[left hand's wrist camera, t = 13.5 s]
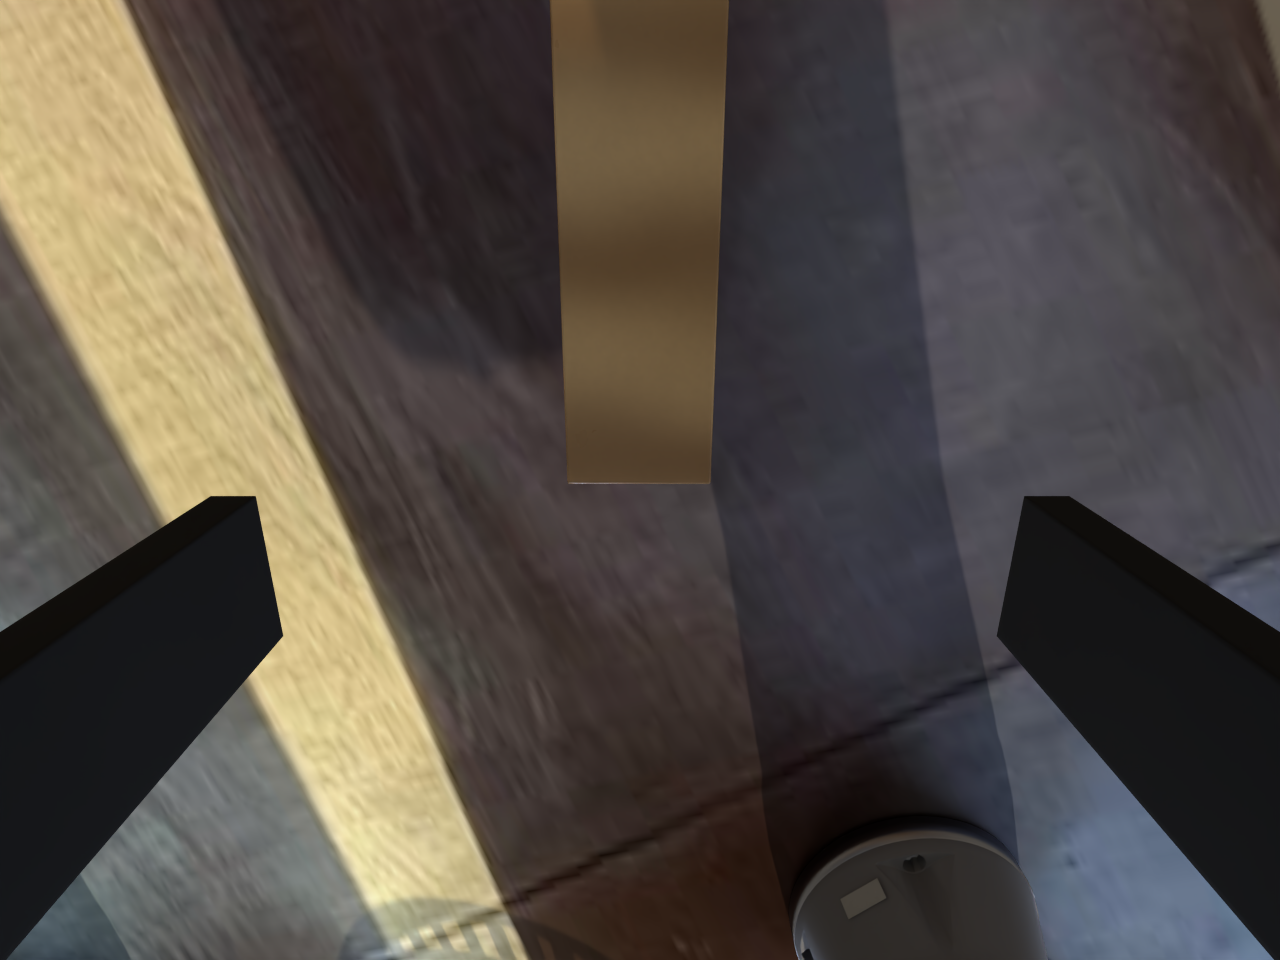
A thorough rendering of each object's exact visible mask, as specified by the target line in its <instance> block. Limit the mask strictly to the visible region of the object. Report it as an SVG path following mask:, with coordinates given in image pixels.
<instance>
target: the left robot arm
mask: <svg viewBox="0 0 1280 960" xmlns="http://www.w3.org/2000/svg"><path fill="white" fill-rule="evenodd" d="M282 637H283V633H282V627H281V622H280V617H279V612H278V607H277V602H276V597H275V592H274V587H273V582H272V577H271V572H270V567H269V561H268V556H267V551H266V546H265V541H264V536H263V531H262V526H261V521H260V516H259V511H258V506H257V501H256V496H210V497H209V498H207V499H206V500H204V501H203V502H201V503H200V504H198V505H196V506H195V507H193V508H192V509H190V510H189V511H187V512H186V513H184V514H183V515H181V516H179V517H178V518H176V519H175V520H173V521H172V522H170V523H169V524H167V525H165V526H164V527H162V528H161V529H159V530H158V531H156V532H155V533H153V534H152V535H150V536H148V537H147V538H145V539H144V540H142V541H141V542H139V543H138V544H136V545H134V546H133V547H131V548H130V549H128V550H127V551H125V552H124V553H122V554H120V555H119V556H117V557H116V558H114V559H113V560H111V561H110V562H108V563H107V564H105V565H103V566H102V567H100V568H99V569H97V570H96V571H94V572H93V573H91V574H89V575H88V576H86V577H85V578H83V579H82V580H80V581H79V582H77V583H76V584H74V585H72V586H71V587H69V588H68V589H66V590H65V591H63V592H62V593H60V594H58V595H57V596H55V597H54V598H52V599H51V600H49V601H48V602H46V603H45V604H43V605H41V606H40V607H38V608H37V609H35V610H34V611H32V612H31V613H29V614H27V615H26V616H24V617H23V618H21V619H20V620H18V621H17V622H15V623H14V624H12V625H10V626H9V627H7V628H6V629H4V630H3V631H1V632H0V960H6V959H7V958H8V957H9V955H10V954H11V953H12V952H13V951H14V950H15V948H16V947H17V946H18V945H19V944H20V943H21V941H22V940H23V939H24V938H25V937H26V936H27V934H28V933H29V932H30V931H31V930H32V929H33V927H34V926H35V925H36V924H37V923H38V922H39V920H40V919H41V918H42V917H43V916H44V915H45V913H46V912H47V911H48V910H49V909H50V908H51V906H52V905H53V904H54V903H55V902H56V901H57V899H58V898H59V897H60V896H61V895H62V894H63V892H64V891H65V890H66V889H67V888H68V887H69V885H70V884H71V883H72V882H73V881H74V880H75V878H76V877H77V876H78V875H79V874H80V873H81V871H82V870H83V869H84V868H85V867H86V866H87V864H88V863H89V862H90V861H91V860H92V859H93V857H94V856H95V855H96V854H97V853H98V852H99V850H100V849H101V848H102V847H103V846H104V845H105V843H106V842H107V841H108V840H109V839H110V838H111V836H112V835H113V834H114V833H115V832H116V831H117V829H118V828H119V827H120V826H121V825H122V824H123V822H124V821H125V820H126V819H127V818H128V817H129V815H130V814H131V813H132V812H133V811H134V810H135V808H136V807H137V806H138V805H139V804H140V803H141V801H142V800H143V799H144V798H145V797H146V796H147V794H148V793H149V792H150V791H151V790H152V789H153V787H154V786H155V785H156V784H157V783H158V781H159V780H160V779H161V778H162V777H163V776H164V774H165V773H166V772H167V771H168V770H169V769H170V767H171V766H172V765H173V764H174V763H175V762H176V760H177V759H178V758H179V757H180V756H181V755H182V753H183V752H184V751H185V750H186V749H187V748H188V746H189V745H190V744H191V743H192V742H193V741H194V739H195V738H196V737H197V736H198V735H199V734H200V732H201V731H202V730H203V729H204V728H205V727H206V725H207V724H208V723H209V722H210V721H211V720H212V718H213V717H214V716H215V715H216V714H217V713H218V711H219V710H220V709H221V708H222V707H223V706H224V704H225V703H226V702H227V701H228V700H229V699H230V697H231V696H232V695H233V694H234V693H235V692H236V690H237V689H238V688H239V687H240V686H241V685H242V683H243V682H244V681H245V680H246V679H247V678H248V676H249V675H250V674H251V673H252V672H253V671H254V669H255V668H256V667H257V666H258V665H259V664H260V662H261V661H262V660H263V659H264V658H265V657H266V655H267V654H268V653H269V652H270V651H271V650H272V648H273V647H274V646H275V645H276V644H277V643H278V641H279V640H280V639H281V638H282ZM997 637H998V638H999V639H1000V640H1001V641H1002V643H1003V644H1004V645H1005V646H1006V647H1007V648H1008V650H1009V651H1010V652H1011V653H1012V654H1013V655H1014V657H1015V658H1016V659H1017V660H1018V661H1019V662H1020V664H1021V665H1022V666H1023V667H1024V668H1025V669H1026V671H1027V672H1028V673H1029V674H1030V675H1031V676H1032V678H1033V679H1034V680H1035V681H1036V682H1037V683H1038V685H1039V686H1040V687H1041V688H1042V689H1043V690H1044V692H1045V693H1046V694H1047V695H1048V696H1049V697H1050V699H1051V700H1052V701H1053V702H1054V703H1055V704H1056V706H1057V707H1058V708H1059V709H1060V710H1061V711H1062V713H1063V714H1064V715H1065V716H1066V717H1067V718H1068V720H1069V721H1070V722H1071V723H1072V724H1073V725H1074V727H1075V728H1076V729H1077V730H1078V731H1079V732H1080V734H1081V735H1082V736H1083V737H1084V738H1085V739H1086V741H1087V742H1088V743H1089V744H1090V745H1091V746H1092V748H1093V749H1094V750H1095V751H1096V752H1097V753H1098V755H1099V756H1100V757H1101V758H1102V759H1103V760H1104V762H1105V763H1106V764H1107V765H1108V766H1109V767H1110V769H1111V770H1112V771H1113V772H1114V773H1115V774H1116V776H1117V777H1118V778H1119V779H1120V780H1121V782H1122V783H1123V784H1124V785H1125V786H1126V787H1127V789H1128V790H1129V791H1130V792H1131V793H1132V794H1133V796H1134V797H1135V798H1136V799H1137V800H1138V801H1139V803H1140V804H1141V805H1142V806H1143V807H1144V808H1145V810H1146V811H1147V812H1148V813H1149V814H1150V815H1151V817H1152V818H1153V819H1154V820H1155V821H1156V822H1157V824H1158V825H1159V826H1160V827H1161V828H1162V829H1163V831H1164V832H1165V833H1166V834H1167V835H1168V836H1169V838H1170V839H1171V840H1172V841H1173V842H1174V843H1175V845H1176V846H1177V847H1178V848H1179V849H1180V850H1181V852H1182V853H1183V854H1184V855H1185V856H1186V857H1187V859H1188V860H1189V861H1190V862H1191V863H1192V864H1193V866H1194V867H1195V868H1196V869H1197V870H1198V871H1199V873H1200V874H1201V875H1202V876H1203V877H1204V878H1205V880H1206V881H1207V882H1208V883H1209V884H1210V885H1211V887H1212V888H1213V889H1214V890H1215V891H1216V892H1217V894H1218V895H1219V896H1220V897H1221V898H1222V899H1223V901H1224V902H1225V903H1226V904H1227V905H1228V906H1229V908H1230V909H1231V910H1232V911H1233V912H1234V913H1235V915H1236V916H1237V917H1238V918H1239V919H1240V920H1241V922H1242V923H1243V924H1244V925H1245V926H1246V927H1247V929H1248V930H1249V931H1250V932H1251V933H1252V934H1253V936H1254V937H1255V938H1256V939H1257V940H1258V941H1259V943H1260V944H1261V945H1262V946H1263V947H1264V948H1265V950H1266V951H1267V952H1268V953H1269V954H1270V955H1271V957H1272V958H1273V959H1274V960H1280V632H1279V631H1277V630H1276V629H1274V628H1273V627H1271V626H1270V625H1268V624H1266V623H1265V622H1263V621H1262V620H1260V619H1259V618H1257V617H1256V616H1254V615H1253V614H1251V613H1249V612H1248V611H1246V610H1245V609H1243V608H1242V607H1240V606H1239V605H1237V604H1235V603H1234V602H1232V601H1231V600H1229V599H1228V598H1226V597H1225V596H1223V595H1222V594H1220V593H1218V592H1217V591H1215V590H1214V589H1212V588H1211V587H1209V586H1208V585H1206V584H1204V583H1203V582H1201V581H1200V580H1198V579H1197V578H1195V577H1194V576H1192V575H1191V574H1189V573H1187V572H1186V571H1184V570H1183V569H1181V568H1180V567H1178V566H1177V565H1175V564H1173V563H1172V562H1170V561H1169V560H1167V559H1166V558H1164V557H1163V556H1161V555H1159V554H1158V553H1156V552H1155V551H1153V550H1152V549H1150V548H1149V547H1147V546H1146V545H1144V544H1142V543H1141V542H1139V541H1138V540H1136V539H1135V538H1133V537H1132V536H1130V535H1128V534H1127V533H1125V532H1124V531H1122V530H1121V529H1119V528H1118V527H1116V526H1115V525H1113V524H1111V523H1110V522H1108V521H1107V520H1105V519H1104V518H1102V517H1101V516H1099V515H1097V514H1096V513H1094V512H1093V511H1091V510H1090V509H1088V508H1087V507H1085V506H1084V505H1082V504H1080V503H1079V502H1077V501H1076V500H1074V499H1073V498H1071V497H1070V496H1024V501H1023V506H1022V511H1021V516H1020V521H1019V526H1018V531H1017V536H1016V541H1015V546H1014V551H1013V556H1012V561H1011V567H1010V572H1009V577H1008V582H1007V587H1006V592H1005V597H1004V602H1003V607H1002V612H1001V617H1000V622H999V627H998V633H997ZM789 921H790V926H791V930H792V935H793V940H794V945H795V949H796V953H797V956H798V958H799V960H1048V958H1047V953H1046V948H1045V944H1044V939H1043V935H1042V931H1041V926H1040V922H1039V915H1038V910H1037V905H1036V902H1035V898H1034V894H1033V891H1032V889H1031V887H1030V885H1029V883H1028V881H1027V879H1026V877H1025V876H1024V874H1023V872H1022V870H1021V869H1020V867H1019V865H1018V863H1017V862H1016V860H1015V858H1014V857H1013V855H1012V854H1011V853H1010V851H1009V850H1008V849H1007V848H1006V847H1005V846H1004V845H1003V844H1002V843H1001V842H1000V841H999V840H997V839H996V838H995V837H993V836H992V835H990V834H989V833H987V832H985V831H984V830H982V829H980V828H978V827H975V826H973V825H970V824H968V823H964V822H961V821H958V820H953V819H948V818H941V817H931V816H911V817H901V818H894V819H889V820H884V821H880V822H876V823H873V824H870V825H867V826H864V827H861V828H859V829H857V830H854V831H852V832H850V833H848V834H846V835H844V836H842V837H841V838H839V839H837V840H836V841H834V842H832V843H831V844H830V845H828V846H827V847H826V848H824V849H823V850H822V851H821V852H820V853H818V854H817V855H816V856H815V857H814V858H813V859H812V860H811V861H810V862H809V863H808V865H807V866H806V867H805V869H804V870H803V871H802V873H801V874H800V876H799V878H798V879H797V881H796V884H795V886H794V888H793V891H792V894H791V898H790V903H789Z"/></svg>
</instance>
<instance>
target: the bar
mask: <svg viewBox="0 0 1280 960" xmlns="http://www.w3.org/2000/svg"><path fill="white" fill-rule="evenodd" d="M728 12H729V0H550V22H551V49H552V76H553V103H554V130H555V157H556V184H557V211H558V238H559V265H560V292H561V319H562V346H563V372H564V399H565V426H566V453H567V480H568V483H569V484H709V483H710V482H711V457H712V430H713V404H714V378H715V352H716V326H717V300H718V274H719V248H720V221H721V195H722V169H723V143H724V117H725V91H726V65H727V39H728Z"/></svg>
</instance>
